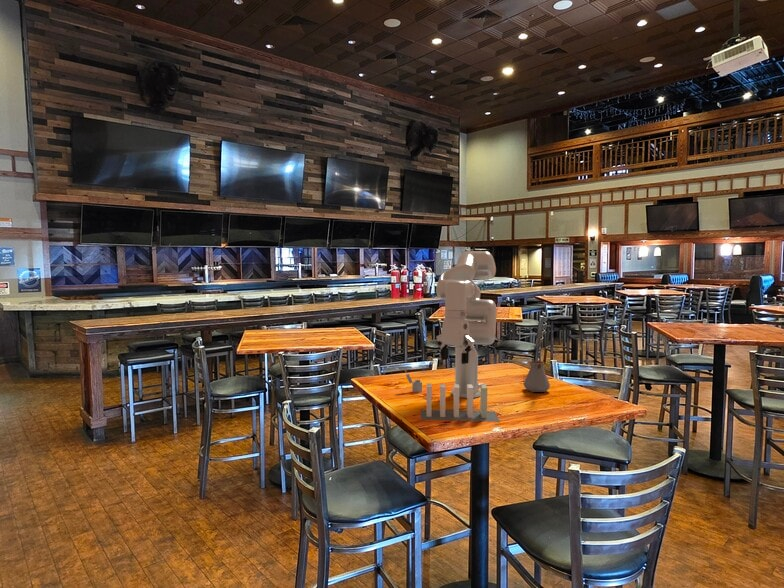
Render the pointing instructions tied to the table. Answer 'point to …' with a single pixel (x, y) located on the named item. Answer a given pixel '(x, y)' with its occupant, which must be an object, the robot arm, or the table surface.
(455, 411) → the domino
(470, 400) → the domino
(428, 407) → the domino
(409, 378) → the lighter
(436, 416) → the mat
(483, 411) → the domino
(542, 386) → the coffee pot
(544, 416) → the table surface
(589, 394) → the table surface
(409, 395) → the table surface
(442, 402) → the domino
